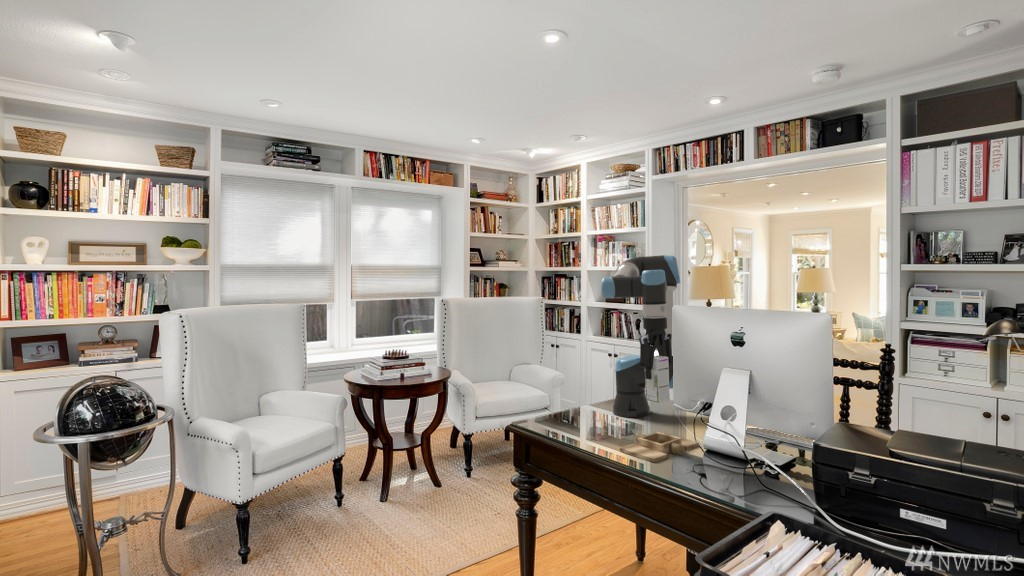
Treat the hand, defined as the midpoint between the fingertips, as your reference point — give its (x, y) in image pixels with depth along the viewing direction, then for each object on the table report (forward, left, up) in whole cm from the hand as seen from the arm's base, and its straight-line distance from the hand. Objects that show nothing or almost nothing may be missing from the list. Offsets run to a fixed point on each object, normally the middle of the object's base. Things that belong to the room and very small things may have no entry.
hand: (657, 387), depth 176 cm
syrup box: (0, 0, -5) cm, 5 cm away
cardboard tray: (0, 0, -20) cm, 20 cm away
